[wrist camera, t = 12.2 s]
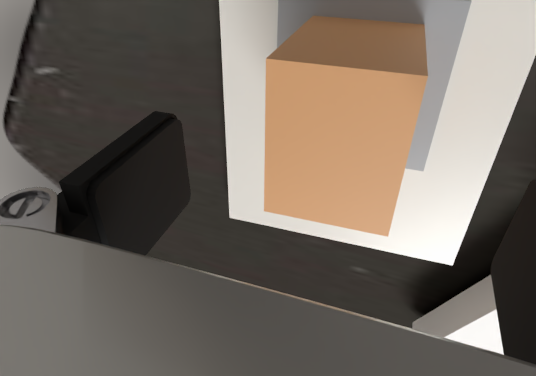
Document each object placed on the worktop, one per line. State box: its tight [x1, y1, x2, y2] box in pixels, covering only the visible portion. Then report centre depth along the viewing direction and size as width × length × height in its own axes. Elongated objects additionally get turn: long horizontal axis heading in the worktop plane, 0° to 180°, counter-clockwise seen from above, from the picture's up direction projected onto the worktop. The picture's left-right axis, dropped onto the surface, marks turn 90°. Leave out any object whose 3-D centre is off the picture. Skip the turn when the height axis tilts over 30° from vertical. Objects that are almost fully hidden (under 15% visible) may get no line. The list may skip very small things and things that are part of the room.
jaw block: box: [264, 16, 428, 237], centre depth 16 cm, size 6×5×7 cm
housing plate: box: [219, 0, 536, 266], centre depth 18 cm, size 20×14×5 cm
